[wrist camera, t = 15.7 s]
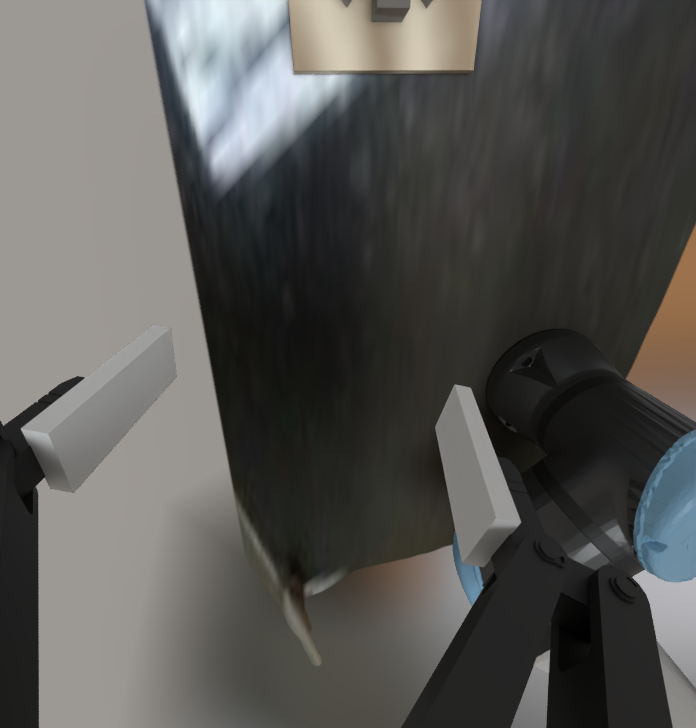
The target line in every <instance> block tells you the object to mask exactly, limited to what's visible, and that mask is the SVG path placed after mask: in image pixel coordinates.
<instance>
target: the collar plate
mask: <svg viewBox="0 0 696 728" xmlns="http://www.w3.org/2000/svg"><path fill="white" fill-rule="evenodd" d="M288 1H289V13H290V26H291V38H292V51H293V63H294V74H455V73H470V72H471V71H473V69H474V60H475V52H476V43H477V35H478V26H479V18H480V9H481V1H482V0H288Z"/></svg>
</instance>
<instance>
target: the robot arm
mask: <svg viewBox="0 0 696 728" xmlns="http://www.w3.org/2000/svg"><path fill="white" fill-rule="evenodd" d="M176 377H177V374H176V367H175V358H174V350H173V341H172V333H171V328H170V327H165V326H160V325H152V326H151V327H150V328H148V329H147V330H146V331H144V332H143V333H142V334H141V335H139V336H138V337H137V338H136V339H134V340H133V341H132V342H131V343H129V344H128V345H127V346H125V347H124V348H123V349H122V350H120V351H119V352H118V353H116V354H115V355H114V356H113V357H111V358H110V359H109V360H108V361H106V362H105V363H104V364H103V365H101V366H100V367H99V368H97V369H96V370H95V371H93V372H92V373H91V374H90V375H88V376H87V377H86V378H84V377H78V376H77V377H75V378H72V379H70V380H68V381H66V382H63V383H61V384H59V385H58V386H57V387H56V388H54V389H53V390H51V391H50V392H49V394H48V395H45V396H43V397H42V398H41V399H39V400H38V402H35V403H34V404H33V405H31V406H30V407H28V408H27V409H26V410H25V411H23V412H22V413H20V414H19V415H18V416H16V417H15V418H14V419H12V420H11V421H10V422H8V423H7V424H6V425H4V426H3V425H2V423H1V421H0V728H39V687H38V686H39V671H38V670H39V669H38V667H39V666H38V665H39V660H38V656H39V655H38V492H37V489H36V487H35V486H36V485H37V484H38V483H39V482H40V481H41V480H42V479H43V478H44V477H45V478H46V481H47V483H48V485H49V487H50V489H55V490H61V491H66V492H72V493H74V492H75V491H76V490H77V489H78V488H79V487H80V486H81V484H82V483H83V482H84V481H85V480H86V479H87V478H88V476H89V475H90V474H91V473H92V472H93V471H94V470H95V469H96V467H97V466H98V465H99V464H100V463H101V462H102V461H103V460H104V458H105V457H106V456H107V455H108V454H109V453H110V452H111V450H112V449H113V448H114V447H115V446H116V445H117V444H118V443H119V441H120V440H121V439H122V438H123V437H124V436H125V435H126V433H127V432H128V431H129V430H130V429H131V428H132V427H133V426H134V424H135V423H136V422H137V421H138V420H139V419H140V418H141V416H142V415H143V414H144V413H145V412H146V411H147V410H148V409H149V407H150V406H151V405H152V404H153V403H154V402H155V401H156V400H157V398H158V397H159V396H160V395H161V394H162V393H163V392H164V391H165V389H166V388H167V387H168V386H169V385H170V384H171V383H172V381H173V380H174V379H175V378H176ZM487 401H488V404H489V407H490V409H491V410H492V412H493V413H494V414H495V416H496V417H497V418H498V419H499V421H500V422H501V423H502V424H503V425H505V426H506V427H507V428H509V429H510V430H512V431H514V432H516V433H518V434H520V435H521V436H523V437H524V438H526V439H528V440H530V441H532V442H533V443H535V444H537V445H539V446H540V447H541V448H542V449H543V450H544V452H545V453H546V454H547V456H546V457H544V458H543V459H542V460H541V461H539V462H538V463H537V464H535V465H534V466H533V467H531V468H530V469H528V470H527V471H526V472H524V473H523V474H522V475H520V473H519V471H518V469H517V468H516V467H515V466H514V465H513V463H512V462H511V461H510V460H509V459H506V458H501V457H497V456H496V454H495V451H494V448H493V446H492V443H491V440H490V438H489V435H488V433H487V430H486V427H485V425H484V422H483V419H482V417H481V414H480V411H479V409H478V406H477V403H476V401H475V398H474V395H473V393H472V390H471V388H470V387H465V386H460V385H454V387H453V389H452V391H451V393H450V396H449V398H448V400H447V402H446V404H445V407H444V409H443V411H442V413H441V415H440V418H439V420H438V422H437V424H436V426H435V429H436V434H437V439H438V444H439V449H440V454H441V459H442V464H443V469H444V474H445V480H446V485H447V490H448V495H449V500H450V505H451V510H452V515H453V520H454V525H455V533H454V538H453V542H454V543H453V555H454V561H455V566H456V570H457V573H458V575H459V579H460V581H461V584H462V586H463V589H464V591H465V593H466V596H467V597H468V600H469V602H470V603H471V605H472V608H471V610H470V611H469V613H468V615H467V617H466V618H465V620H464V622H463V623H462V625H461V627H460V629H459V630H458V632H457V633H456V635H455V637H454V639H453V640H452V642H451V644H450V645H449V647H448V649H447V650H446V652H445V654H444V656H443V657H442V659H441V661H440V662H439V664H438V666H437V667H436V669H435V671H434V673H433V674H432V676H431V678H430V679H429V681H428V683H427V684H426V687H425V688H424V690H423V691H422V693H421V695H420V696H419V698H418V700H417V702H416V703H415V705H414V707H413V708H412V710H411V712H410V713H409V715H408V717H407V719H406V720H405V722H404V724H403V725H402V727H401V728H510V727H511V725H512V722H513V719H514V716H515V714H516V711H517V709H518V706H519V703H520V700H521V698H522V695H523V692H524V690H525V687H526V684H527V681H528V679H529V676H530V674H531V671H532V668H533V666H535V667H537V668H539V669H541V670H543V671H545V672H547V673H548V674H549V684H548V685H549V686H548V706H547V728H696V688H695V687H694V686H693V684H692V683H691V682H690V681H689V679H688V678H687V677H686V676H685V675H684V673H683V672H682V671H681V670H680V669H679V667H678V666H677V665H676V664H675V663H674V661H673V660H672V659H671V658H670V656H669V655H668V654H667V653H666V652H665V650H664V649H663V648H662V647H661V646H660V644H659V643H658V642H657V641H656V635H655V630H654V625H653V619H652V614H651V609H650V604H649V601H648V599H647V596H646V594H645V592H644V591H643V590H642V588H641V587H640V585H639V584H638V583H637V582H636V581H635V580H634V579H633V578H632V577H633V576H634V575H636V574H638V573H639V572H641V571H643V570H646V571H648V572H649V573H651V574H653V575H655V576H657V577H658V578H660V579H662V580H665V581H668V582H682V581H688V580H692V579H693V578H694V577H696V422H694V421H693V420H691V419H689V418H688V417H686V416H684V415H683V414H681V413H679V412H678V411H676V410H675V409H673V408H671V407H670V406H668V405H666V404H665V403H663V402H661V401H660V400H658V399H657V398H655V397H653V396H652V395H650V394H648V393H647V392H645V391H643V390H642V389H640V388H638V387H637V386H635V385H634V384H632V383H630V382H629V381H627V380H626V379H624V378H623V377H622V376H621V375H620V374H619V372H618V371H617V370H616V369H615V367H614V366H613V365H612V364H611V362H610V361H609V360H608V359H607V357H606V355H605V354H604V352H603V351H602V349H601V348H600V347H599V346H598V345H597V344H596V343H594V342H593V341H591V340H590V339H588V338H586V337H584V336H583V335H581V334H579V333H577V332H574V331H570V330H564V329H555V330H548V331H544V332H540V333H537V334H534V335H532V336H530V337H528V338H526V339H524V340H522V341H521V342H519V343H518V344H516V345H515V346H514V347H512V348H511V349H510V350H509V351H508V352H507V353H506V354H505V355H504V356H503V357H502V358H501V359H500V361H499V362H498V363H497V365H496V366H495V368H494V370H493V371H492V373H491V376H490V378H489V381H488V385H487Z"/></svg>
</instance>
